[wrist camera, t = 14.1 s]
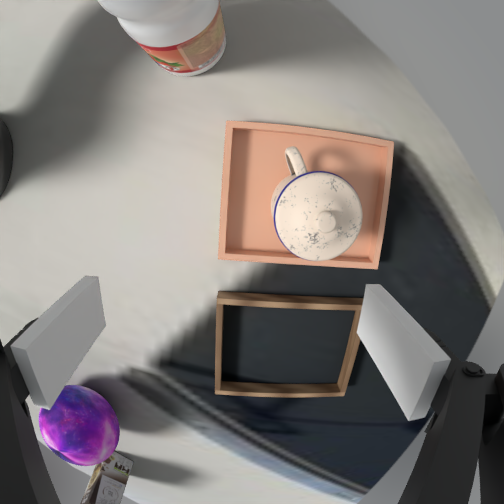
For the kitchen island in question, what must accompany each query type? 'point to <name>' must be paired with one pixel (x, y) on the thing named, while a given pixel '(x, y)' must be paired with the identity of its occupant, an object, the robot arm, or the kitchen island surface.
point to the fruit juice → (174, 31)
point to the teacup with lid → (315, 211)
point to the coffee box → (108, 481)
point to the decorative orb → (80, 426)
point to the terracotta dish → (276, 169)
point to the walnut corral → (286, 302)
